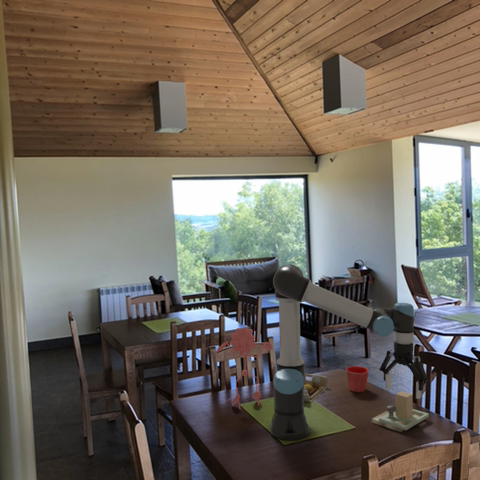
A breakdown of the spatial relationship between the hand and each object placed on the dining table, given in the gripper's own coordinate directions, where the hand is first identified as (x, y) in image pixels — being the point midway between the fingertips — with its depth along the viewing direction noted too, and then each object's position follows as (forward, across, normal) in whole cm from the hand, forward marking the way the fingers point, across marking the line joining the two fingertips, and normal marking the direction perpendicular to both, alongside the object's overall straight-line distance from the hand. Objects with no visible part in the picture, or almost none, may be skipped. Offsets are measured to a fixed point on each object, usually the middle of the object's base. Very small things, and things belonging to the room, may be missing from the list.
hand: (402, 393), depth 199 cm
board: (+12, +2, 0) cm, 12 cm away
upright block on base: (+10, 0, 0) cm, 10 cm away
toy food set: (+14, +52, +2) cm, 54 cm away
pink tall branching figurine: (+14, +62, +30) cm, 70 cm away
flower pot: (+13, +35, -20) cm, 42 cm away
